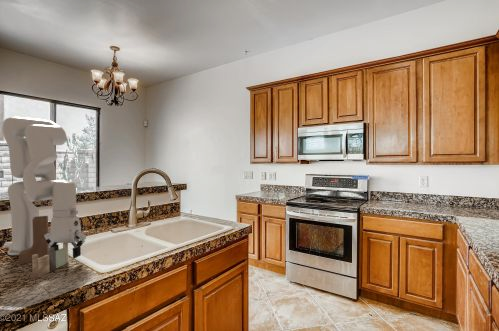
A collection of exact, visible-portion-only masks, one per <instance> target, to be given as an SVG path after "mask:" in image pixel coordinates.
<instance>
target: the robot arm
mask: <svg viewBox="0 0 499 331" xmlns="http://www.w3.org/2000/svg"><path fill="white" fill-rule="evenodd" d="M1 127H2V128H1V129H2V135H3V137H4V140H5V142H6V144H7V147H8V151H9V152H8V153H9V156H8V157H9V165H10V166H9V167H10V172H11V176H12V177H14V178H16V179H22V181H16V182H13V183H11V184H10V185H8V187H7V197H8V200H9V203H10V204H9V205H10V215H11V216H10V219H11V241H5V242H4V244H3V245H2V247H3V248H5V249H6V248H9V249H8V250H7V255H9V256H19V254H20V252H21V251H24V250H27V249H30V248H31V247H32V245H33V218H34V217H38V216H40V211H39V208H38V207H37V206H36V205H34V203H33V202H39V201H47V200H52V217H51V221H50V228H49V231H48V233H47V234H45V235H44V236H45V239H46V242H47V243H48V244H49V245H48V246H49V248H50V247H55V251H57V250H60V247H59V246H60V245H59V243H61V244H63V243H68V244H71V245H72V246H73V248H72V258H73V259H76V258H78V257H80V256H81V253H82V252H81V250H82V248H81V246H83V245H84V243H85V241H86V239H87V234H85V233H83V232H82V227H81V221H80V217H79V215H78V213H79V211H78V210H77V190H76V189H77V186H76V183H75V182H74V181H71V180H70V181H69V180H64V179H57V176H56V174H57V173H56V165H55V161H56V160H57V158H58V154H57V152H56V149H55V146H62V145H65V143H66V142H67V132H66V131H65V129H64V128H63V127H61V125H58V124H57V123H55V122H54V121H52V120H49V119H48V120H47V119H41V118H31V117H22V116H21V117H20V116H11V117H7V118H5V119H4V120H3V122H2V126H1ZM36 178H37V179H38V178H40V179H41V180H37V179H36Z"/></svg>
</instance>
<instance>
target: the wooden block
mask: <svg viewBox="0 0 499 331" xmlns="http://www.w3.org/2000/svg"><path fill="white" fill-rule="evenodd" d="M47 233H49V216H48V215H41V216H40V215H39V216H38V217H34V218H33V245H32V247H31V248H30V249H27V250H24V251H21V252H20V254H19V255H18V264H19V265H20V264H27V263H32V255H34V254H38V258H40V257H43V256H45V255H48V248H50V247H49V246H48V245H49V244H48V243H47V242H46V239H45V236H44V235H45V234H47Z"/></svg>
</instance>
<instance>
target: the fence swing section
mask: <svg viewBox="0 0 499 331" xmlns="http://www.w3.org/2000/svg"><path fill="white" fill-rule="evenodd" d="M66 264H69V243H62V248H59V250H57V251H55V269H59V268H60V267H62V266H64V265H66Z"/></svg>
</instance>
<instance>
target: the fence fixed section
mask: <svg viewBox="0 0 499 331" xmlns="http://www.w3.org/2000/svg"><path fill="white" fill-rule="evenodd" d="M31 263H32V264H31V265H32V268H31V270H32V271H31V272H32V273H31V274H32V280H35V279H39V278H40V277H42V276H45V275H46V274H48V273H50V272H53V271H56V268H55V247H49V248H48V255H45V256H43V257H40V258H38V254H34V255H32V262H31Z"/></svg>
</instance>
